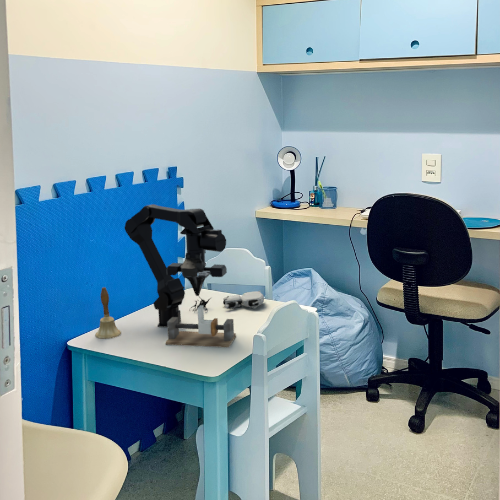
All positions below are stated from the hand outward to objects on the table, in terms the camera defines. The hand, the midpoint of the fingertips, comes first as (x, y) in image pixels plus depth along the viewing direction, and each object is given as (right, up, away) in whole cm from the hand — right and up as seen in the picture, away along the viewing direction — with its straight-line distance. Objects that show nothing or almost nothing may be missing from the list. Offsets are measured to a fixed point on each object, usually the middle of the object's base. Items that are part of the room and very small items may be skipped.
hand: (197, 295), depth 210 cm
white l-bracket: (+3, -11, -8) cm, 14 cm away
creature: (-1, -8, +24) cm, 25 cm away
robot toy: (+15, -6, +28) cm, 32 cm away
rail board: (+2, -14, -7) cm, 15 cm away
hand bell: (-29, -13, +1) cm, 32 cm away
